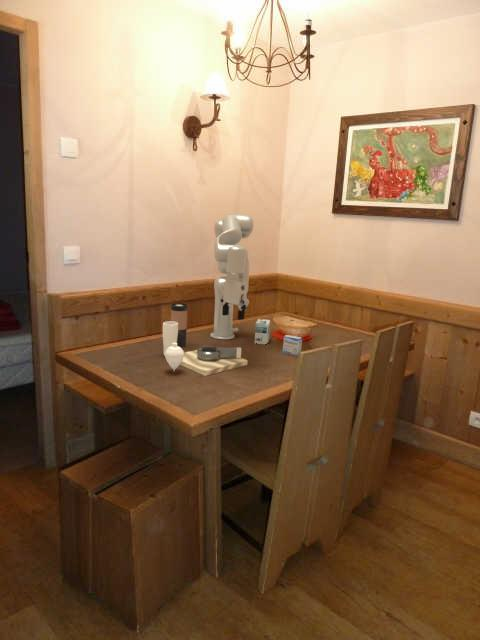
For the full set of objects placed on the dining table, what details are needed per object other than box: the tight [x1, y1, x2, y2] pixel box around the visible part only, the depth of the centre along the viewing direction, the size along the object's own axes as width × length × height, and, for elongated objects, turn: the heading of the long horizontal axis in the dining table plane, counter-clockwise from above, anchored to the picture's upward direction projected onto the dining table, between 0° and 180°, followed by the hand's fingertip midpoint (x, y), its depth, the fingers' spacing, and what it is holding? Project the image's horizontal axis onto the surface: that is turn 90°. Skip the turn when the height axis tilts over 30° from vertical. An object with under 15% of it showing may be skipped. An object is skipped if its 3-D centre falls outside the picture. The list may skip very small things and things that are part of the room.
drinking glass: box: [162, 320, 178, 357], centre depth 205 cm, size 7×7×15 cm
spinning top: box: [164, 343, 185, 372], centre depth 185 cm, size 8×8×12 cm
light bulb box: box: [254, 318, 271, 345], centre depth 238 cm, size 11×7×11 cm, turn 171°
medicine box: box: [282, 334, 303, 357], centre depth 219 cm, size 8×4×9 cm, turn 62°
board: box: [179, 349, 248, 377], centre depth 200 cm, size 24×24×2 cm
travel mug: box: [170, 302, 188, 348], centre depth 221 cm, size 8×8×20 cm
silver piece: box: [196, 345, 242, 361], centre depth 200 cm, size 19×10×5 cm, turn 100°
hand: (233, 317), depth 195 cm, fingers open, 9 cm apart
